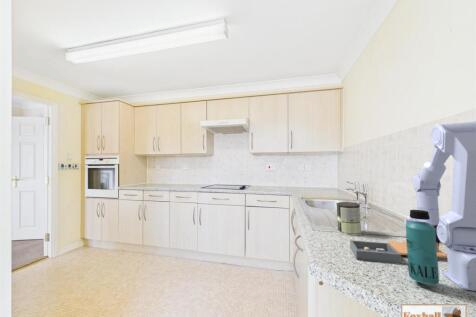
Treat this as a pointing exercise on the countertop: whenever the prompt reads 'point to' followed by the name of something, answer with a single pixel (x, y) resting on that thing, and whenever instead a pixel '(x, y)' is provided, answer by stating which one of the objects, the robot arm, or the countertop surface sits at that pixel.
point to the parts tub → (375, 251)
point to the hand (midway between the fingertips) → (430, 246)
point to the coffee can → (348, 218)
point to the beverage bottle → (422, 249)
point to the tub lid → (402, 248)
